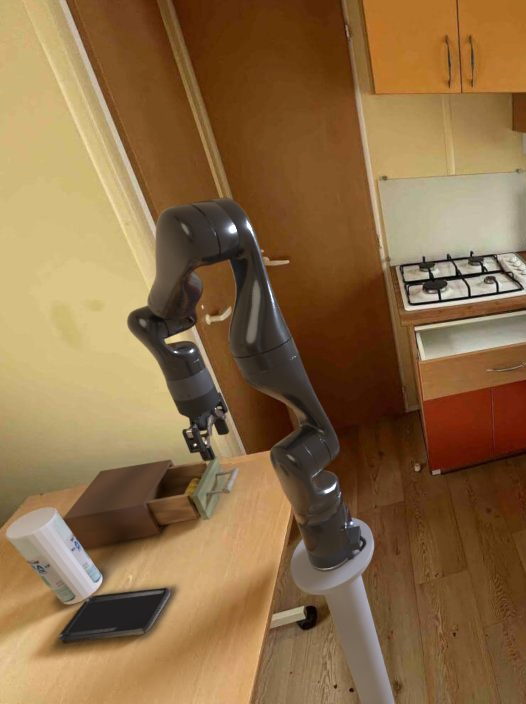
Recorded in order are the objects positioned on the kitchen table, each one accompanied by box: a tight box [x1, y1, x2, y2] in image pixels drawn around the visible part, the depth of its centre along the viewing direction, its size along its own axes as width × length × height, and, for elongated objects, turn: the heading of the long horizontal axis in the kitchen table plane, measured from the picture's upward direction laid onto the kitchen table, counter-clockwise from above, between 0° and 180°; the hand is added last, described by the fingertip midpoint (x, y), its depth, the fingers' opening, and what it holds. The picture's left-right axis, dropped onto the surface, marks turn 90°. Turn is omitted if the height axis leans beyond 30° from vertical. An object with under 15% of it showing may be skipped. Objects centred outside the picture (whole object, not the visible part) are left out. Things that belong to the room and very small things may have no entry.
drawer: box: [146, 456, 240, 526], centre depth 101 cm, size 18×12×8 cm
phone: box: [58, 587, 171, 644], centre depth 80 cm, size 8×1×15 cm
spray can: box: [5, 506, 103, 605], centre depth 80 cm, size 6×6×20 cm
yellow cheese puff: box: [184, 478, 201, 503], centre depth 101 cm, size 9×3×3 cm, turn 15°
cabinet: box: [62, 459, 175, 550], centre depth 98 cm, size 15×14×10 cm
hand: (217, 446), depth 97 cm, fingers open, 8 cm apart
